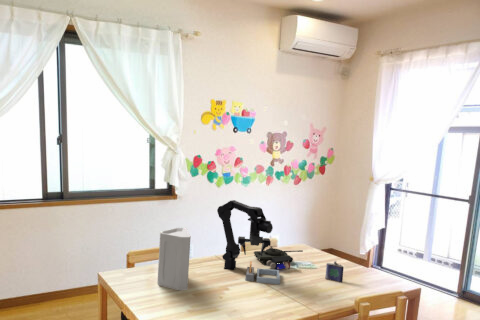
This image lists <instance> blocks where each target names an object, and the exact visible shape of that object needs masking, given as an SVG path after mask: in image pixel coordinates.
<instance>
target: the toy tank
mask: <svg viewBox="0 0 480 320" xmlns="http://www.w3.org/2000/svg"><path fill="white" fill-rule="evenodd" d="M275 247H277V248H275ZM294 252H297V253H298V252H300V253H301V252H302V253H303V252H304V251H303V250H282V249H279V248H278V246H275V245H273V246H272V245H270V247H269V248H266V250H265V249H264V251H263V253H262V256H261V250H258V251H256V250H254V251H253V256H254V257H255V258H256V259H257V260H258V261H259V262H260V263H261V264H262V265H264V266H268V265H267V261H269V260H271V261H272V258H276V257H284V256H288V257H290V258H291V259H292V261H289V262H290V264H291V263H293V260H294V258H293V257H292V256H291V255H289V254H288V253H294ZM277 263H283V262H277Z"/></svg>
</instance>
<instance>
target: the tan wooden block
mask: <svg viewBox="0 0 480 320" xmlns="http://www.w3.org/2000/svg"><path fill="white" fill-rule="evenodd" d="M252 263H253V261H251V260H250V261H249V267H250V270H249V273H251V267H253V266H252V265H253V264H252Z"/></svg>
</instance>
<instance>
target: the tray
mask: <svg viewBox="0 0 480 320" xmlns="http://www.w3.org/2000/svg"><path fill="white" fill-rule="evenodd" d="M260 275H271V276H276V277H266V276H265V277H263V276H260ZM256 283H259V284H272V285H280V284H281V276H280V269H277V270H275V269H272V268H271V269H269V268H256Z"/></svg>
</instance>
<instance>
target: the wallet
mask: <svg viewBox="0 0 480 320" xmlns="http://www.w3.org/2000/svg"><path fill="white" fill-rule="evenodd" d="M343 278H344V265H341V264H339V263H337V260H334V261H333V263H331V262H327V263H326V268H325V278H324V279H325V280H327V281H332V282H336V283H343V281H344V279H343Z"/></svg>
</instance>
